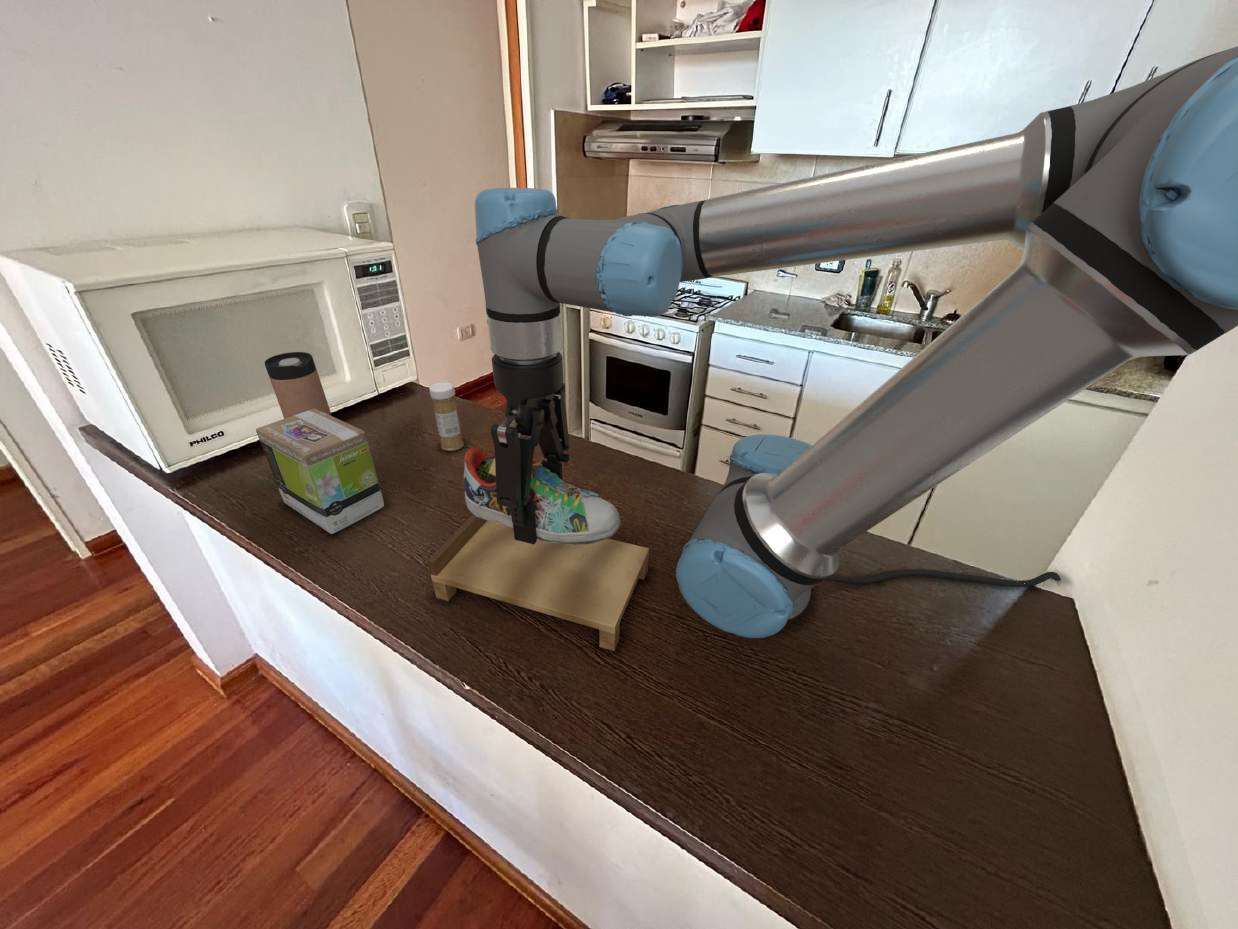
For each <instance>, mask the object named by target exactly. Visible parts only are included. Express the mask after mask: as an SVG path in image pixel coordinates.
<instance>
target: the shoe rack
mask: <svg viewBox="0 0 1238 929" xmlns="http://www.w3.org/2000/svg"><path fill="white" fill-rule="evenodd" d="M649 558H650V548H649V547H645V546H640V545H636V544H632V543H629V542H624V541H620V540H615V539H611V538H608V539H606V540H603V541H600V542H597V543H592V544H587V545H570V544H560V543H550V542H545V541H541V540H538V539H537V541H536V543H535V544H530V543H526V542H522V541H518V540H515V539H514V530H513V528H512V527H509V526H506V525H503V524H500V523H497V522H493V521H488V520H485V519H482V518H479V517H477V516H475V515H474V514H473V513H471V515H469V517H468V518H467V519H466V520H465V521H464V522H463V523H462V525H460V526H459V527H458V528H457V530H455V531H454V532H453V533H452V534H451V536H449V538H448V539H447V540H446V541H444V543H443V544H441V546H440V547H439V548H438V549H437V550H436V551H435V552H434V553H433V554H432V555H431V556H430V557H429V558H428V559H427V560H426V561H427V566H428V570H429V574H430V577H431V582H432V586H433V590H434V594H435V598H436V599H439V600H443V601H446V602H449V601H451V599H452V598H453V597H454V596H455V594H456V593H457V589H458V590H462V591H465V592H470V593H472V594H476V595H480V596H483V597H486V598H490V599H492V600H496V601H500V602H504V603H507V604H510V605H514V606H517V607H521V608H524V609H528V610H531V611H535V612H538V613H541V614H545V615H548V616H552V617H555V618H558V619H562V620H566V621H569V622H571V623H572V622H573V623H575V624H579V625H582V626H585V627H590V628H593V629H595V630H599V632H598V633H599V642H598V644H599V648H603V649H606V650H609V651H612V652H615V651H616V649H617V646H618V644H619V642H620V631H621V630H620V629H621V620H622V618H623V616H624V613H625V611H626V609H627V606H628V604H629V603H630V600H631V597H632V595H633V592H634V590H635V588H636V586H637V584H638V581H639V580H643V581H644V580H645V579H646V576H647V574H648V572H649V561H650V560H649Z"/></svg>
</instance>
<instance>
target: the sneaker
mask: <svg viewBox="0 0 1238 929" xmlns="http://www.w3.org/2000/svg"><path fill="white" fill-rule="evenodd" d="M463 462H464V467H463V468H464V470H463V481H464V482H463V483H464V487H463V490H464V501H465V505H466V508H467V509H468V510H469V512H470V513H471V514H474V515H475V516H477V517H479V518H482V519H485V520H488V521H493V522H497V523H500V524H503V525H506V526H509V527H512V528H513V523H512V518H511V510H510V507H506V506H502V505H498V504H497V496H496V471H495V455H491V454H486V453H484V452H483V451H482V449H481V448H480V447H479V446H472V447H471V448H469V449H468V450H466V451H465V454H464V461H463ZM541 462H542V461H538V460H536V459H535V457H534V456H533V465H532V475H531V484H530V493H529V498H533V501H534V513H535V524H536V536H537V539H538V540H541V541H545V542H550V543H560V544H570V545H587V544H592V543H597V542H600V541H603V540H606V539H610V538H612V536H614V535H615V534H616V532H617V531H619V529H620V527H621V524H622V520H621V517H620V516H621V515H620V513H619V511H618V509H617V508H616V506H615V505H614V504H612V503H611V502H610V501H608V500H606V499H603V498H601V497H600V496H601V495H600V494H598V493H595V492H593V491H590V490H587V489H585V488H584V487H576V486H574V485H572V484H570V483H567V482H566V481H564V479H563V480H562V479H560V478H559V477H558V475H557V474H555V473H552V472H550V470H548V469H547V468H545V467H543V466H542V464H541Z"/></svg>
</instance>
